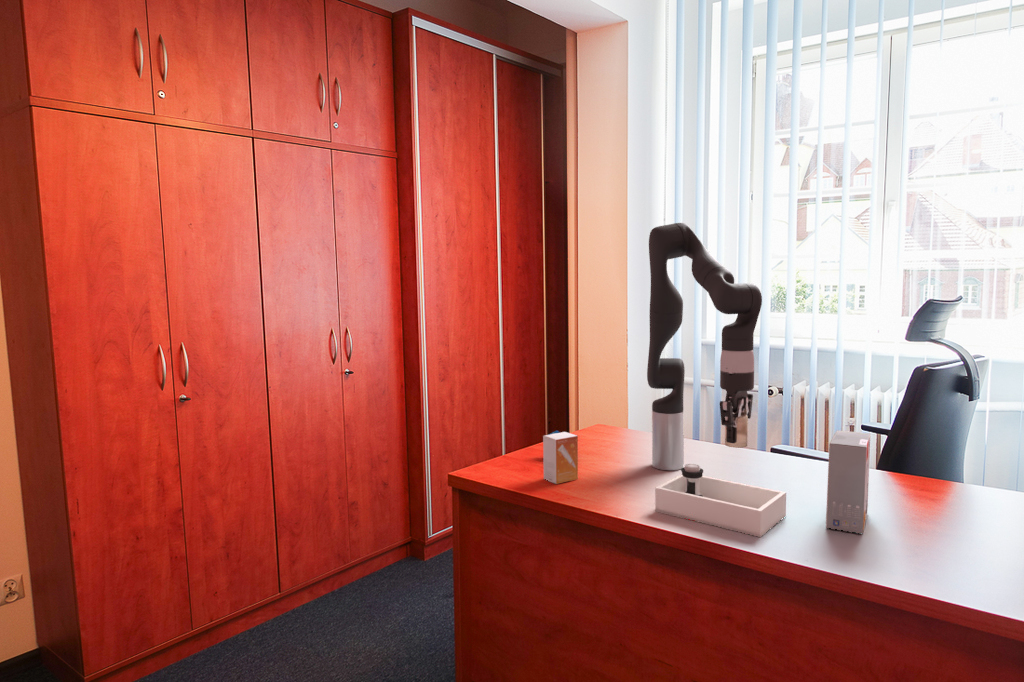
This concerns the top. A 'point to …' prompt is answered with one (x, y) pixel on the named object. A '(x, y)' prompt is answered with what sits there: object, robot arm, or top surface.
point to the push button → (692, 478)
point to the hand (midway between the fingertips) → (736, 439)
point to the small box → (560, 457)
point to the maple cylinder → (740, 433)
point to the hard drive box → (848, 481)
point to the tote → (723, 504)
